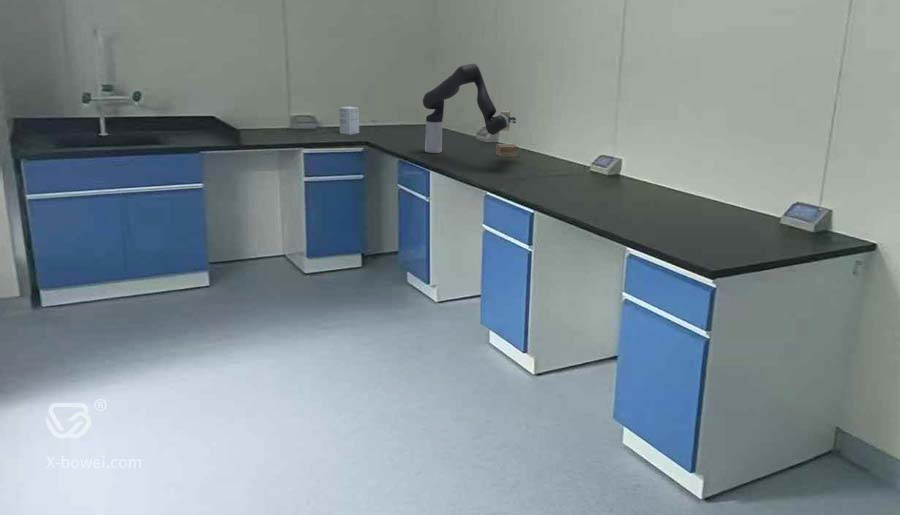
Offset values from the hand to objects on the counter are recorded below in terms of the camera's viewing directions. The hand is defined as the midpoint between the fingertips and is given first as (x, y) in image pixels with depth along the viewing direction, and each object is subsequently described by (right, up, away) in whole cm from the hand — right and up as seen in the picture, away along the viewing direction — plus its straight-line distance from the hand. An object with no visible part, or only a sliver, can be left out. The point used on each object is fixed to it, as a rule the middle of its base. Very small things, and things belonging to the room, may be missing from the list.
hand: (505, 118), depth 399 cm
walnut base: (+2, -18, +16) cm, 24 cm away
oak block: (-1, -7, -1) cm, 7 cm away
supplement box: (-96, +6, +85) cm, 129 cm away
